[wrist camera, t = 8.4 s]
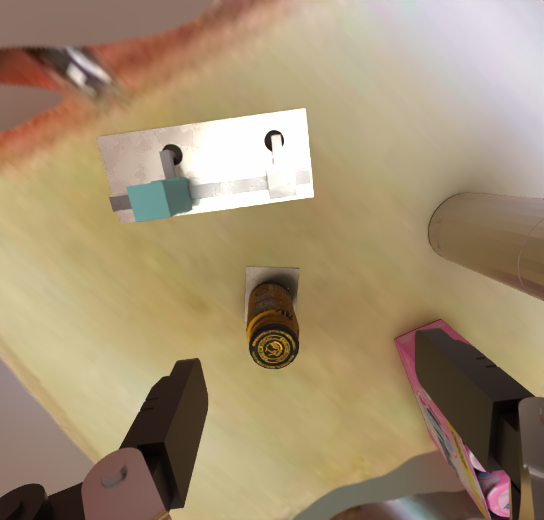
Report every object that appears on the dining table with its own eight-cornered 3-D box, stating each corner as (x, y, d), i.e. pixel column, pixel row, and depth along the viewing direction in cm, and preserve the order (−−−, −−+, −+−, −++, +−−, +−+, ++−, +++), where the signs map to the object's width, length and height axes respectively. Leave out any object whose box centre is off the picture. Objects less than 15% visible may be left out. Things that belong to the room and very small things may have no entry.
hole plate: (303, 110, 35) (311, 99, 29) (311, 195, 38) (320, 199, 32) (102, 138, 34) (74, 131, 29) (126, 222, 37) (104, 229, 32)
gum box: (388, 331, 44) (444, 397, 31) (438, 310, 43) (516, 368, 30) (432, 441, 50) (493, 534, 37) (476, 424, 50) (553, 512, 37)
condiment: (244, 322, 42) (240, 376, 31) (246, 266, 40) (242, 302, 28) (294, 323, 43) (308, 377, 31) (299, 268, 40) (316, 304, 29)
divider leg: (184, 149, 33) (151, 137, 23) (196, 207, 35) (171, 220, 25) (158, 152, 33) (114, 142, 23) (171, 211, 35) (136, 225, 25)
